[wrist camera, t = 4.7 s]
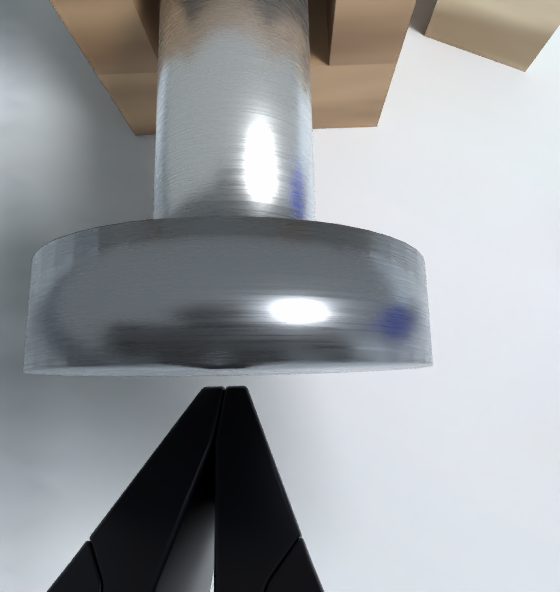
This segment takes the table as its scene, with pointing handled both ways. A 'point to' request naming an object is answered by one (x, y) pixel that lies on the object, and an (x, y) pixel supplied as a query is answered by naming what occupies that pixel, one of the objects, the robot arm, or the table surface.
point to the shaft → (229, 231)
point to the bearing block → (322, 41)
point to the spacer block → (496, 27)
